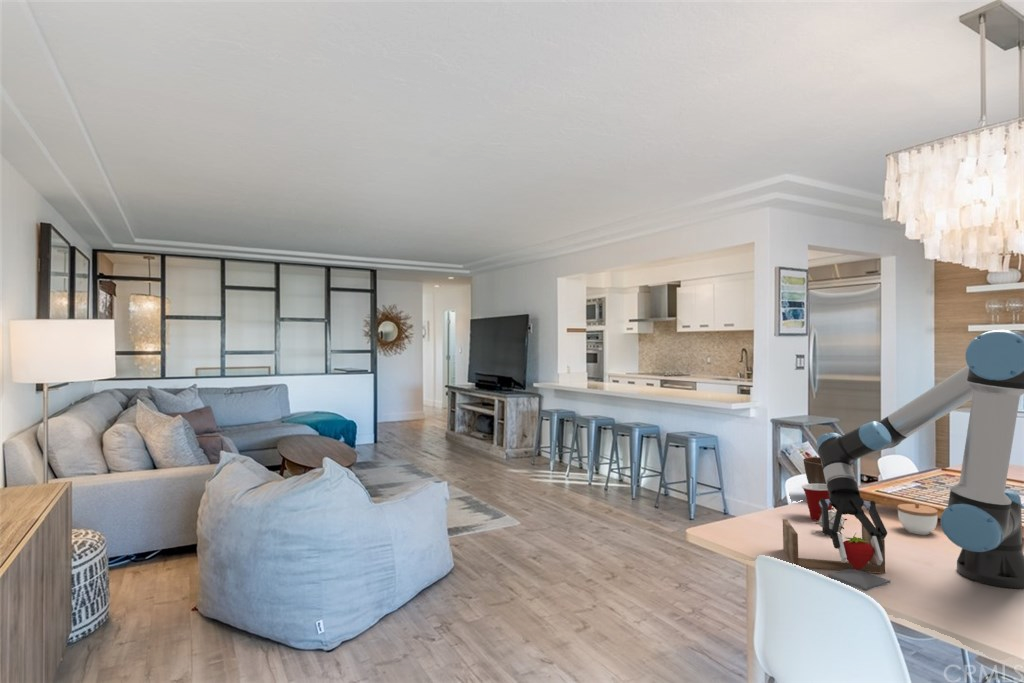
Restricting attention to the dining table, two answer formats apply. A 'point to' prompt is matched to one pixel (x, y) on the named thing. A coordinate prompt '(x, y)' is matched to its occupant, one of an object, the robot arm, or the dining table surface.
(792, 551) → the wooden crossbar stand
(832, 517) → the game die
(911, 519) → the lidded jar
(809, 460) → the plant pot
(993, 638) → the dining table surface
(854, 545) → the strawberry
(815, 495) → the plastic cup
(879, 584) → the pad
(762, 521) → the dining table surface
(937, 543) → the dining table surface
